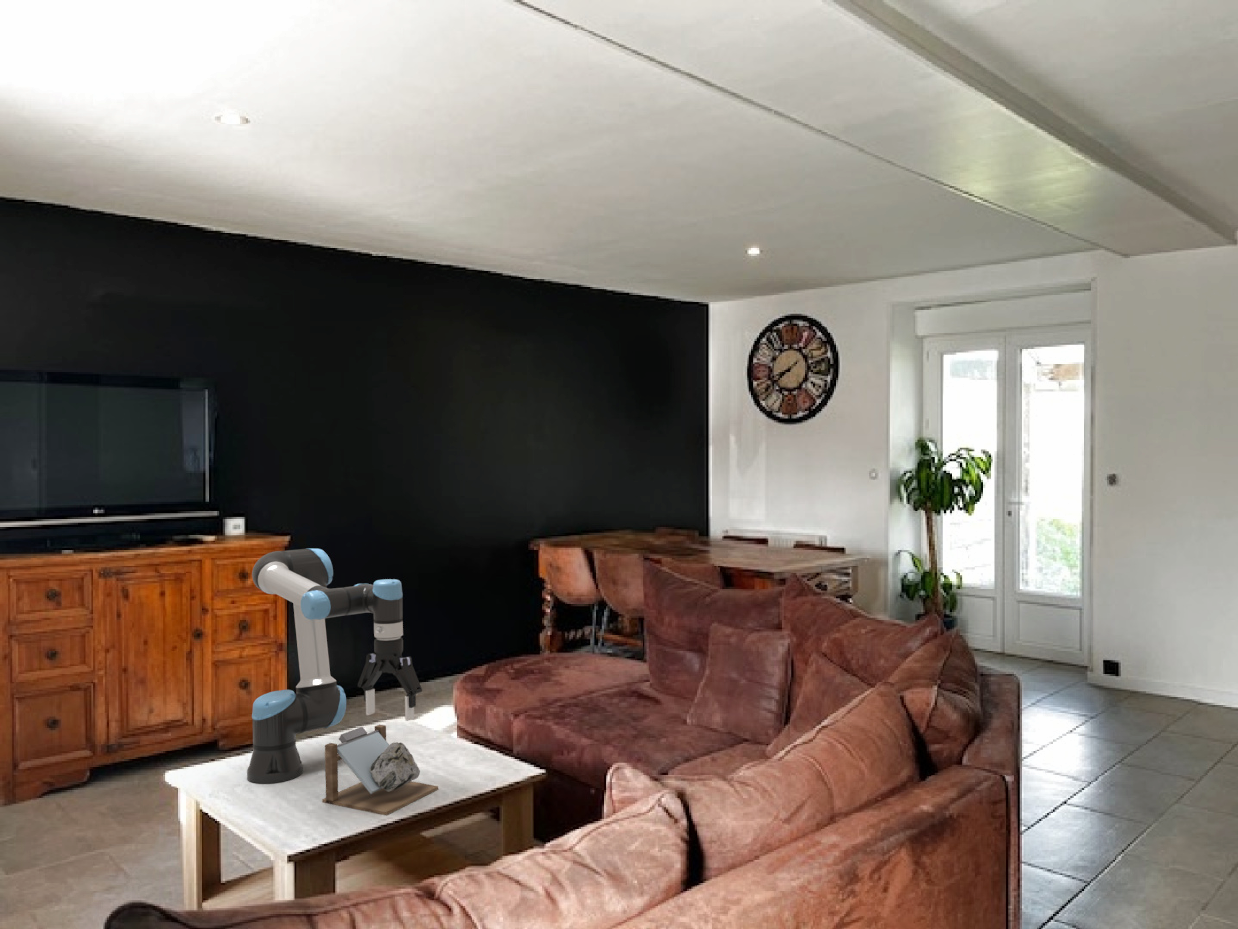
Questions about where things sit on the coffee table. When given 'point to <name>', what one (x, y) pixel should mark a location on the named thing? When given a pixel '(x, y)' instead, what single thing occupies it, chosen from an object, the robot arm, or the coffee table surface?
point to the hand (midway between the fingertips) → (389, 716)
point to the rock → (394, 767)
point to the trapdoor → (362, 754)
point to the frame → (361, 796)
